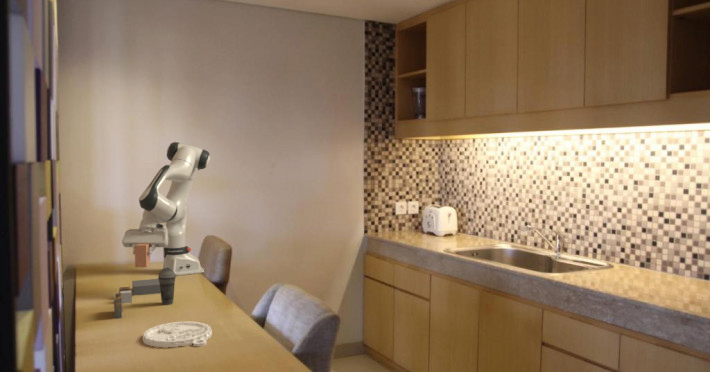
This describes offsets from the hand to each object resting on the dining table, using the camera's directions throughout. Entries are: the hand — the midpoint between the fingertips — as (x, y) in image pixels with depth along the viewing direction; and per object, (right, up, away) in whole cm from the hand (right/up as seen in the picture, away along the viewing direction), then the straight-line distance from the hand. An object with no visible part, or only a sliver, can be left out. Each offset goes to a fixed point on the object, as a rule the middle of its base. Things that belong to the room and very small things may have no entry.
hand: (141, 253), depth 258 cm
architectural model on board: (+1, -22, -29) cm, 36 cm away
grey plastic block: (-3, -20, -10) cm, 22 cm away
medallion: (+35, -23, -57) cm, 71 cm away
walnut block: (-7, -20, -3) cm, 21 cm away
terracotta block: (0, -6, +1) cm, 6 cm away
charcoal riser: (-1, -19, +10) cm, 21 cm away
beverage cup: (+16, -20, -13) cm, 29 cm away
